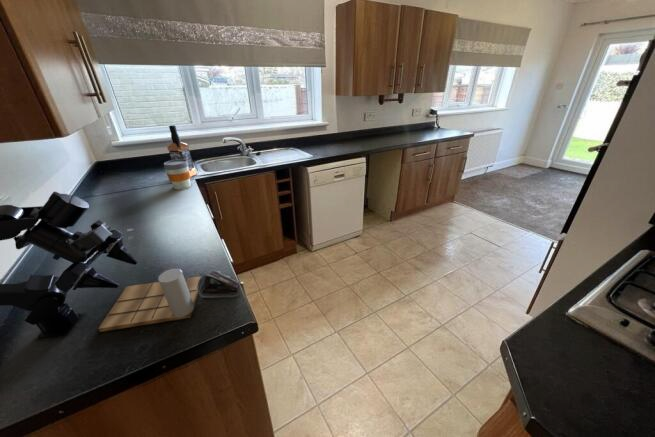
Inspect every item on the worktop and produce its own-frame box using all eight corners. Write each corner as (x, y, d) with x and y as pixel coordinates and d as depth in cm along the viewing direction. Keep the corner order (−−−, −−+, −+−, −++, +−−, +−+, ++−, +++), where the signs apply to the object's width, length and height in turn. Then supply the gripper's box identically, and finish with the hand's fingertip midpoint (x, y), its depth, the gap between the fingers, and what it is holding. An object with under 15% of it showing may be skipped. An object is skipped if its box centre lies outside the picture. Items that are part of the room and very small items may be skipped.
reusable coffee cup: (168, 186, 161) (160, 162, 154) (189, 181, 169) (183, 157, 162) (174, 192, 153) (166, 166, 146) (196, 186, 160) (190, 161, 153)
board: (99, 332, 69) (97, 328, 68) (127, 289, 83) (126, 286, 82) (190, 317, 72) (189, 314, 72) (203, 278, 86) (202, 275, 86)
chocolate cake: (248, 281, 85) (218, 256, 83) (241, 291, 78) (209, 264, 77) (228, 301, 86) (199, 276, 85) (220, 313, 80) (188, 286, 78)
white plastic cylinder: (167, 314, 72) (153, 279, 66) (184, 300, 76) (171, 266, 71) (182, 320, 70) (168, 284, 64) (198, 305, 74) (186, 271, 69)
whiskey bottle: (174, 177, 176) (159, 126, 161) (184, 172, 184) (170, 124, 169) (188, 178, 174) (173, 127, 159) (197, 173, 182) (185, 124, 167)
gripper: (42, 240, 53) (124, 278, 59) (100, 201, 69) (159, 234, 75) (20, 276, 56) (100, 308, 62) (81, 230, 72) (139, 260, 78)
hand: (128, 274), depth 69 cm, fingers open, 9 cm apart
